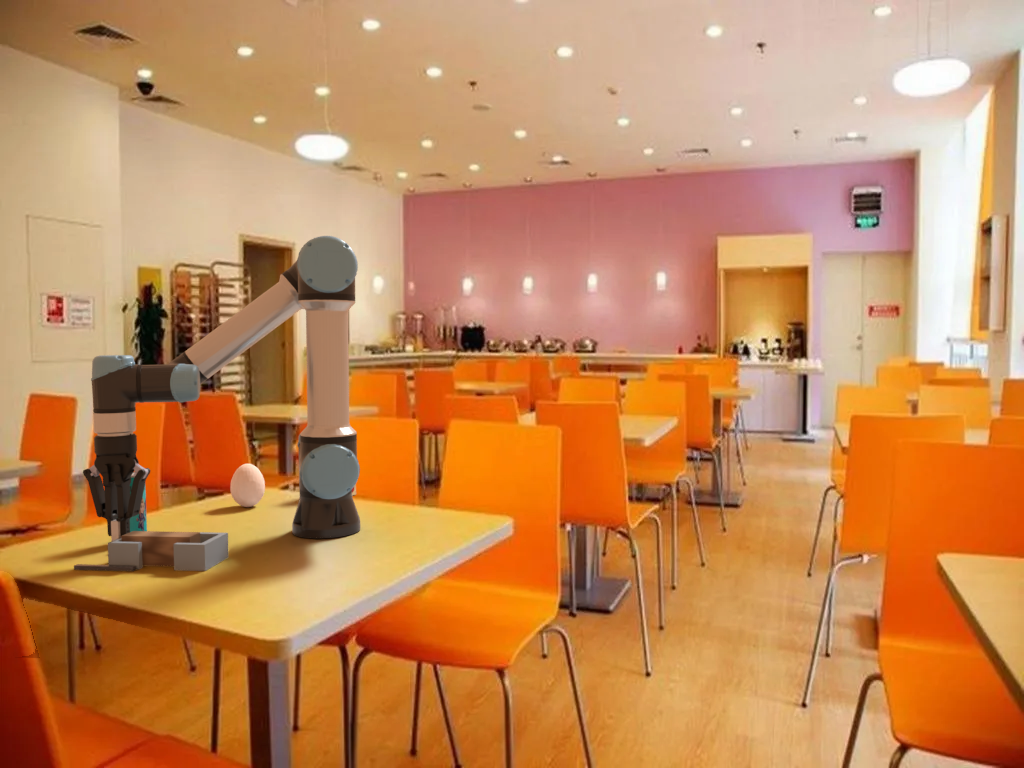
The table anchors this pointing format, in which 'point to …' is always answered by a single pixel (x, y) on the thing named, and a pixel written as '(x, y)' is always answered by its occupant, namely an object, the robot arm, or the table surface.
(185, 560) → the cap
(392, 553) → the table surface
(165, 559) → the brown rectangular block
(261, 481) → the egg
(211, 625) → the table surface
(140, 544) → the cap
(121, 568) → the track
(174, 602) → the table surface
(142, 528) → the beverage can
